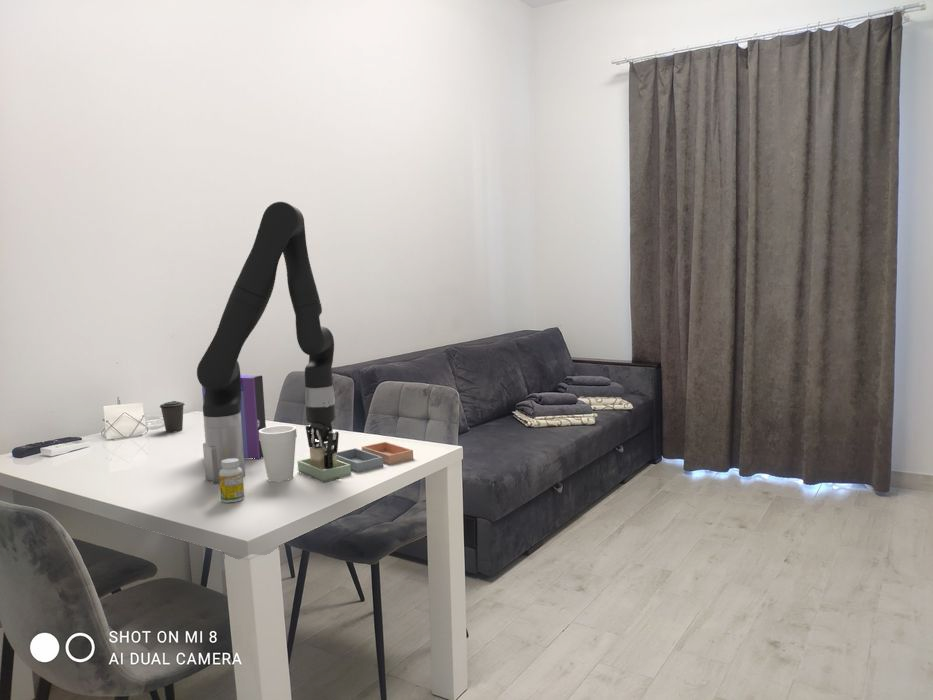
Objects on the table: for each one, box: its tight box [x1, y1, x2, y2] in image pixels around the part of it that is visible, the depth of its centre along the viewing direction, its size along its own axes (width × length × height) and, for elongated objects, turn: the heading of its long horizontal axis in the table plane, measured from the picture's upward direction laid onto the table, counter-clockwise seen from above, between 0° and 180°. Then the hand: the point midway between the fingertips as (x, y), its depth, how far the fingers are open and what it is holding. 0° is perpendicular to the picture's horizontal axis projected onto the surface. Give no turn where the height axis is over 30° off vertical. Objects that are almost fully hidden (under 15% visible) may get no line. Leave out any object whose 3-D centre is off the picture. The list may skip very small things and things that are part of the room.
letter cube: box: [309, 446, 337, 470], centre depth 185 cm, size 5×5×5 cm
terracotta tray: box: [361, 441, 414, 465], centre depth 198 cm, size 8×14×3 cm, turn 40°
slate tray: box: [336, 448, 384, 473], centre depth 192 cm, size 8×14×3 cm, turn 40°
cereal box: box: [201, 374, 267, 460], centre depth 206 cm, size 17×5×24 cm, turn 73°
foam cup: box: [259, 424, 298, 482], centre depth 182 cm, size 10×9×13 cm
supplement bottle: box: [219, 458, 245, 504], centre depth 166 cm, size 5×5×10 cm
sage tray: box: [297, 457, 352, 483], centre depth 186 cm, size 8×14×3 cm, turn 40°
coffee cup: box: [159, 400, 186, 433], centre depth 244 cm, size 8×8×10 cm
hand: (323, 466), depth 185 cm, fingers closed on letter cube, 4 cm apart
